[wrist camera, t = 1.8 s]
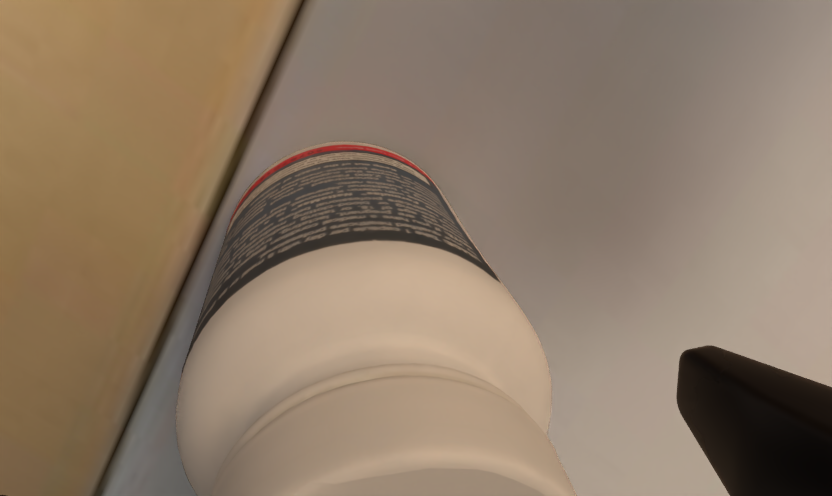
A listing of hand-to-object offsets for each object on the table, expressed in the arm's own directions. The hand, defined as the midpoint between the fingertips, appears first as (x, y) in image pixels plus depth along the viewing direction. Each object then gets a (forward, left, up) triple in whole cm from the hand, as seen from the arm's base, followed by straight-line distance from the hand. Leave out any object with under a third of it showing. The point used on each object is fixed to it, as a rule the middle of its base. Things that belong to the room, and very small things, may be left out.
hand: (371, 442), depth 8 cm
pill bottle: (0, 0, -7) cm, 7 cm away
